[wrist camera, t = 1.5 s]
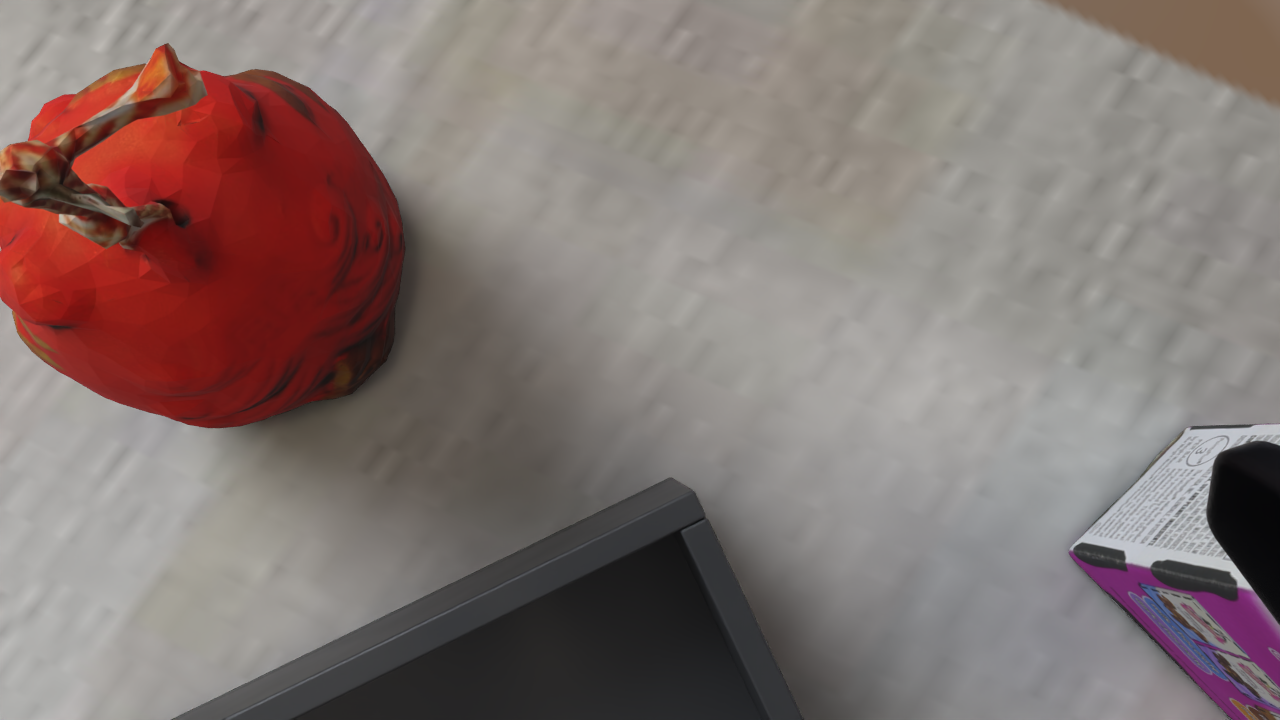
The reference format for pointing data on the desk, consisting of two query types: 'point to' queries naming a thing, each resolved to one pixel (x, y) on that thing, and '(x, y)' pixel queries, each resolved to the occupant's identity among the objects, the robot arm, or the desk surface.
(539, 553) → the dark grey open box
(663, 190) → the desk surface
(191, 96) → the red clay folk toy
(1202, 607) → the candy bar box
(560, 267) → the desk surface
